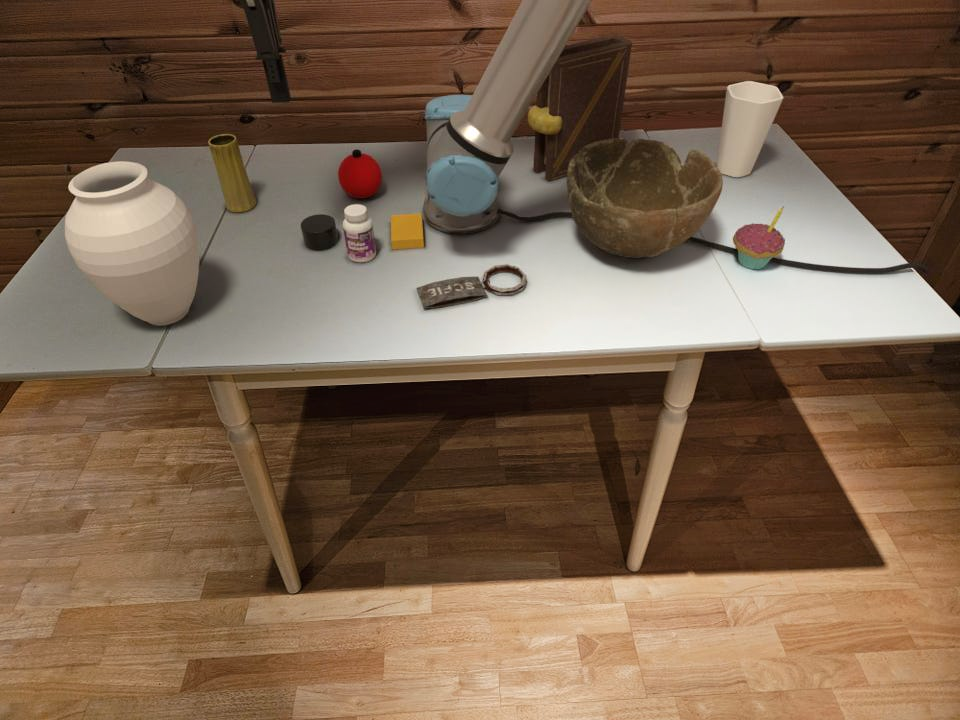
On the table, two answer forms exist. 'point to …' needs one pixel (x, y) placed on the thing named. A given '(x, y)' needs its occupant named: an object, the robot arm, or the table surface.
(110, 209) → the vase
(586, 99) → the book
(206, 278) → the table surface
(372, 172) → the ornament
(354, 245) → the pill bottle
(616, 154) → the bowl
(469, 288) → the keychain
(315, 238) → the metal tin
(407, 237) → the orange rectangular block
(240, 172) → the vase
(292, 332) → the table surface
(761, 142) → the cup
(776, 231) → the cupcake
